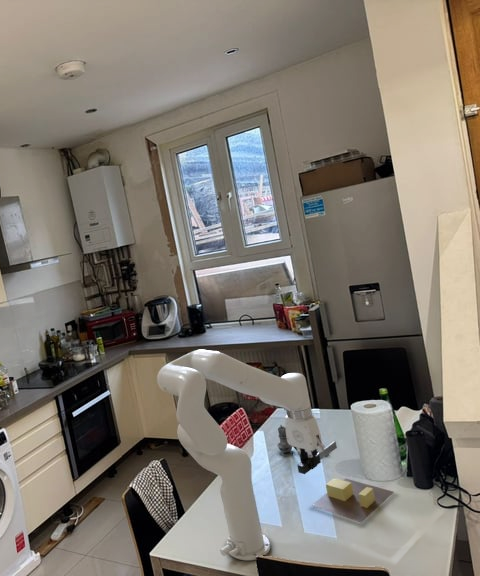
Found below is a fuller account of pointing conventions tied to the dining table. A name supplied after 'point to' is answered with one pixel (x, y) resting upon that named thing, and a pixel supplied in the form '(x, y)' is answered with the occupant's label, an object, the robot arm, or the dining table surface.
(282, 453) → the grey chess piece
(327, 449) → the knife
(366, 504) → the butter pat
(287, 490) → the dining table surface
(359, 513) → the butter board
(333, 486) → the butter block
